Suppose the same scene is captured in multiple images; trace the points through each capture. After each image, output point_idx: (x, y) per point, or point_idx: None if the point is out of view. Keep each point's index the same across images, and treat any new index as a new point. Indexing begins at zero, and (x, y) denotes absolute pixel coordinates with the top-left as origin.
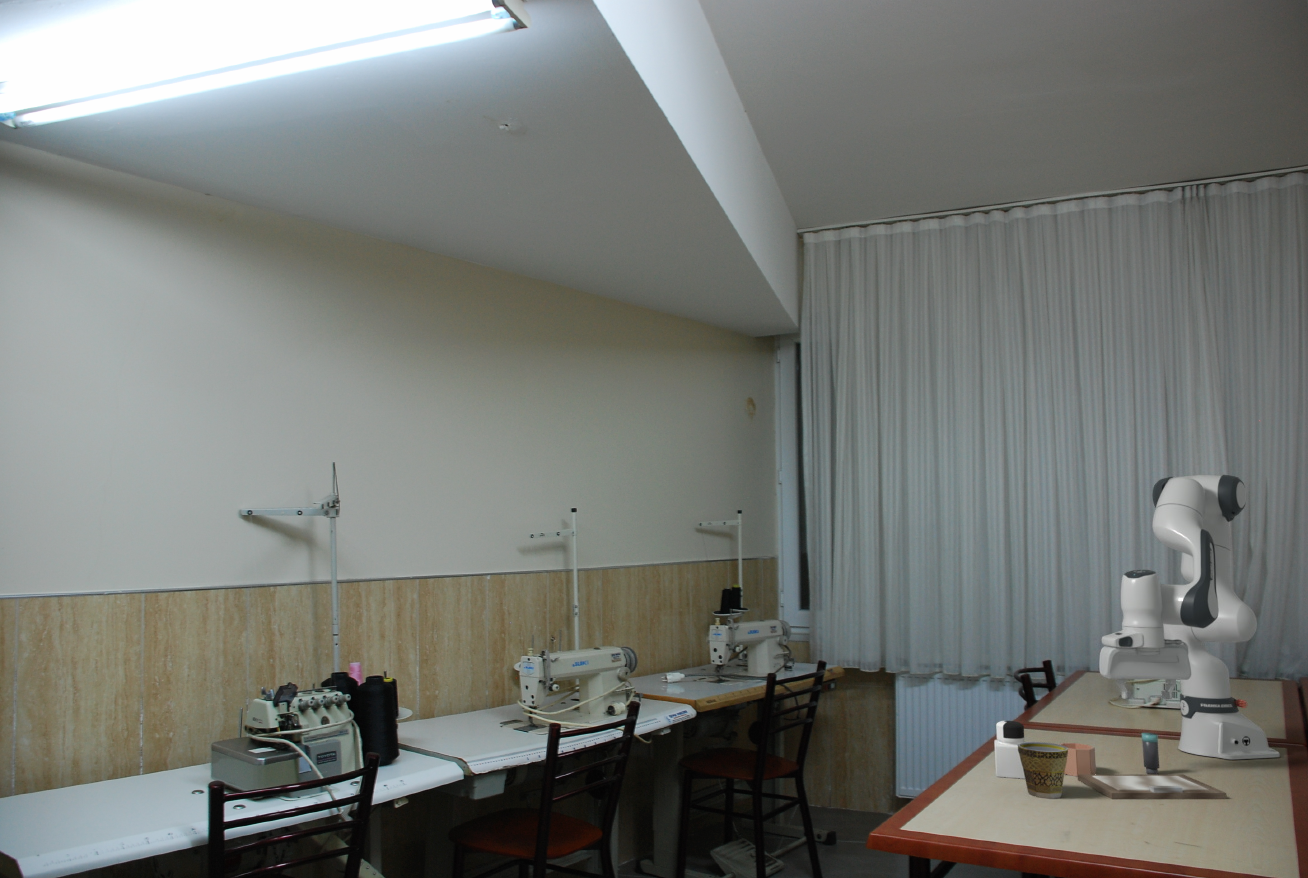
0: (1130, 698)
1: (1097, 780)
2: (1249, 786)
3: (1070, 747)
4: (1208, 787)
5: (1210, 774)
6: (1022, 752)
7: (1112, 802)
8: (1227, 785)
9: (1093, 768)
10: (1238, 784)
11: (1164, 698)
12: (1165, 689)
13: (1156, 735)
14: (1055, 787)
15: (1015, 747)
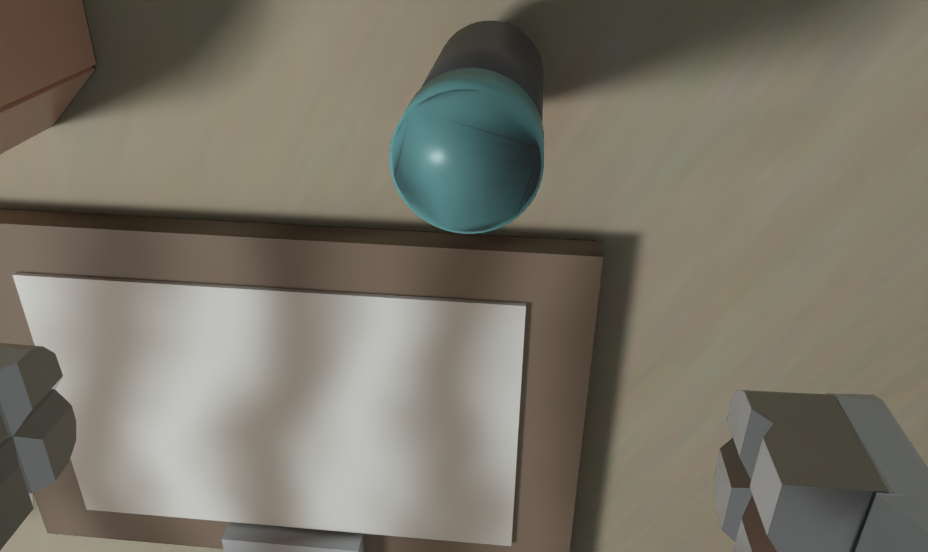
0: (61, 439)
1: None
2: (888, 393)
3: None
4: (548, 503)
5: (917, 104)
6: None
7: (53, 548)
8: (775, 366)
9: (48, 108)
10: (863, 352)
11: (718, 464)
12: (902, 521)
13: (505, 222)
14: None
15: None
